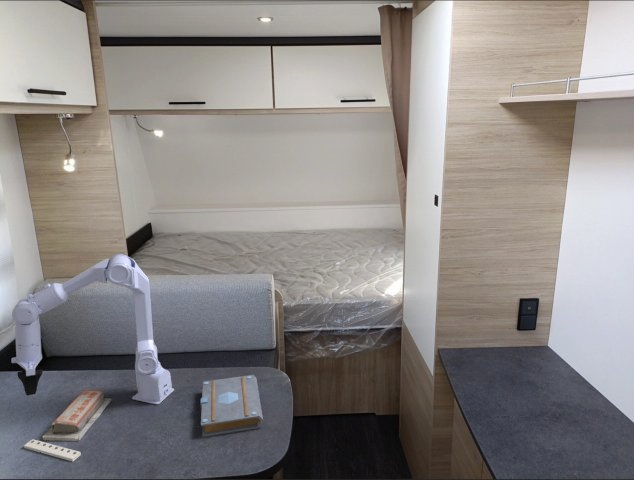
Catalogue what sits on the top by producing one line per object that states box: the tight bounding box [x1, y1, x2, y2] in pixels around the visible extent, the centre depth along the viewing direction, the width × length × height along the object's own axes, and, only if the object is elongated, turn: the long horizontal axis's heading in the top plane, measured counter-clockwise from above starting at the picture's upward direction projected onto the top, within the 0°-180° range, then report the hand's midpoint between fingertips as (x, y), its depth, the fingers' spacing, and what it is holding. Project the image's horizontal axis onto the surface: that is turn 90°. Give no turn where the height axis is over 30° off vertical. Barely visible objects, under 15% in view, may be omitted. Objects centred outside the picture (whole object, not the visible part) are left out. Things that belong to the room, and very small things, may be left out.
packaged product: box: [42, 389, 112, 442], centre depth 128 cm, size 18×5×10 cm
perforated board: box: [23, 439, 82, 462], centre depth 116 cm, size 16×2×1 cm, turn 71°
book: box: [199, 374, 264, 438], centre depth 131 cm, size 21×16×5 cm
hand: (30, 387), depth 127 cm, fingers open, 7 cm apart
